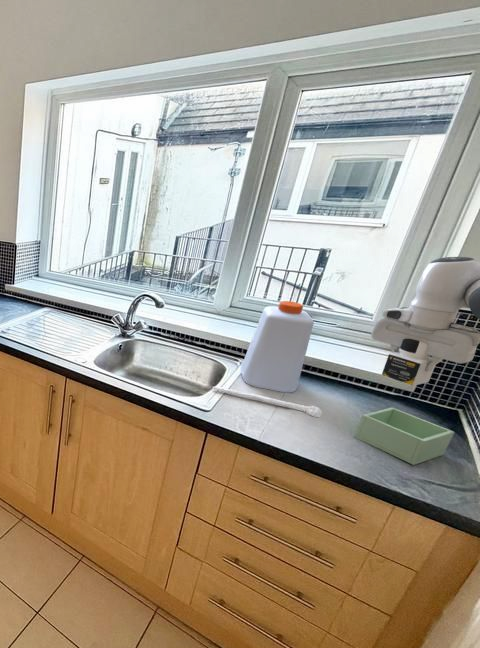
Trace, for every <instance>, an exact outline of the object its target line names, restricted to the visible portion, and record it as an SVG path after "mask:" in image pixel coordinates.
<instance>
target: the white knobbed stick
mask: <svg viewBox="0 0 480 648" xmlns="http://www.w3.org/2000/svg"><path fill="white" fill-rule="evenodd" d="M212 390H214V391H217V392H221V393H225V394H228V395H232V396H235V397H241V398H243V399H250V400H254V401H259V402H263V403H267V404H272V405H276V406H280V407H284V408H287V409H292V410H296V411H301V412H302V413H303V412H304V413H306V414H307V415H309V416H311V417H314V418H321V417H322V413H323V412H322V409H321V408H320V407H318V406H315V405H309V406H307V405H303V404H299V403H295V402H294V403H293V402H291V401H290V402H289V401H285V400H280V399H276V398H271V397H267V396H263V395H259V394H255V393H249V392H244V391H240V390H235V389H231V388H224V387H221V386H220V387H219V386H212Z"/></svg>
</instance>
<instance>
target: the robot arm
mask: <svg viewBox="0 0 480 648" xmlns="http://www.w3.org/2000/svg"><path fill="white" fill-rule="evenodd" d="M460 309H469V310H470V312H471V314H472V315H474V317H476V318H477V319H479V320H480V262H479V261H477V260H476V259H475V258H472V257H469V256H446V257H440V258H436V259H433V260H432V261H431V262H429V263H428V264H427V265H426V266H425V268H424V270H423V271H422V274H421V276H420V278H419V280H418V283H417V284H416V288H415V296H414V298H413V299H412V300H411V301H410V303H409V305H408V307H406V306H404V307H392V308H388V309H384V310H383V311H382V312H381V313H382V314H381V315H382V317H380V318H379V319H377V321H376V322H375V324H374V326H373V328H372V331H371V333H370V336H371V338H372V340H373V341H377V342H382V343H383V344H384V343H385V344H389V345H390V346H389V349H390V353H394V352H399V349H400V346H401V344H402V341H403V339H413V340H417V341H421V342H424V343H425V344H427V348H426V351H425V354H427V355H430V357H432V358H431V360H434V361H432V362H431V363H429V364H428V365H427V366H426V369H425V371H428V372H429V371H431V370H432V369H433V366H434V365H435V366H436V365H437V364H439V363H441V362H442V361H443V360H445V361H449V362H453V363H456V364H460V365H461V364H467V363H469V362H471V361H473V359H474V357H475V354H476V351H477V347H478V345H479V344H480V330H477V328H475V327H473V326H466V325H463V324H460V323H459V324H458V323H455V320H456V318H457V316H458V313H459V311H460Z"/></svg>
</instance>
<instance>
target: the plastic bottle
mask: <svg viewBox="0 0 480 648" xmlns="http://www.w3.org/2000/svg"><path fill="white" fill-rule="evenodd" d="M303 308H304V306H303V304H302V303H299V302H295V301H291V300H290V301H289V300H282V301H280V302H279V304H278V306H275V305H274V306H273V305H270V306H266V307H264V308H263V310H262V313H261V315H260V318H259V320H258V323H257V325H256V328H255V331H254V334H253V336H252V338H251V341H250V343H249V346H248V349H247V351H246V354H245V355H244V359H243V361H242V364H241V366H240V373H241V376H242V380H243V382H244V383H246V384H247V385H249V386H250V387H251V386H252V387H254V388H259V389H264V390H268V391H269V390H270V391H274V392H279V393H286V394H288V393H290V394H291V393H294V392H295V391H296V390H297V389H298V385H299V381H300V377H301V374H302V370H303V367H304V362H305V359H306V354H307V350H308V347H309V343H310V340H311V335H312V332H313V328H314V323H315V322H314V319H313V318H312V317H311V316H310V314H309V313H308V312H306V311H305V310H303Z"/></svg>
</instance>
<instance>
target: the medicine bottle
mask: <svg viewBox="0 0 480 648" xmlns="http://www.w3.org/2000/svg"><path fill="white" fill-rule="evenodd" d="M426 348H427V344H425V343H424V342H421V341H417V340H413V339H403V341H402V344H401V346H400V349H398V350H399V352H394V353H392V352H389V353H388V356H387V358H386V362H385V363H384V367H383V369H382V373H381V376H382V377H383V378H387V379H389V380H392V381H395V382H399V383H402V384H404V385H407V386H410V387H413V386H418V385H422V384H428V383H429V382H430V380H431V377H432V375H433V372H434V370H435V367H436V365H434V366H433V369H432V370H431V371H429V372H428V371H425V369H426V366H427V365H428V364H429V363H431V362H432V361H434V360H431V358H432V356H431V355H427V354H425V351H426Z"/></svg>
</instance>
